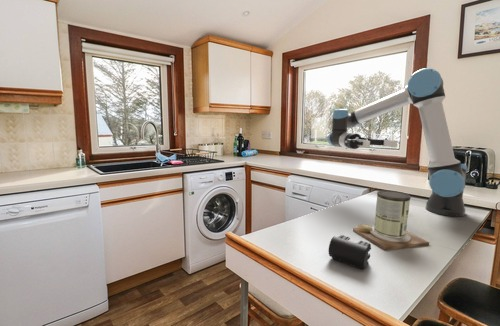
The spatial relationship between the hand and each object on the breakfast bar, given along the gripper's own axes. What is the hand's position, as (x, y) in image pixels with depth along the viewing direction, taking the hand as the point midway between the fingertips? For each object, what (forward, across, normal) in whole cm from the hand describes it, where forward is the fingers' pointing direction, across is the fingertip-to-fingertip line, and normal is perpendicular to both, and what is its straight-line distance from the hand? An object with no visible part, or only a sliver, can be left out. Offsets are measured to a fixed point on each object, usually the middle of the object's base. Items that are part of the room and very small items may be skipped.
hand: (382, 144), depth 113 cm
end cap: (+31, +36, -32) cm, 57 cm away
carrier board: (+19, +11, -32) cm, 38 cm away
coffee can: (+19, +11, -30) cm, 37 cm away
